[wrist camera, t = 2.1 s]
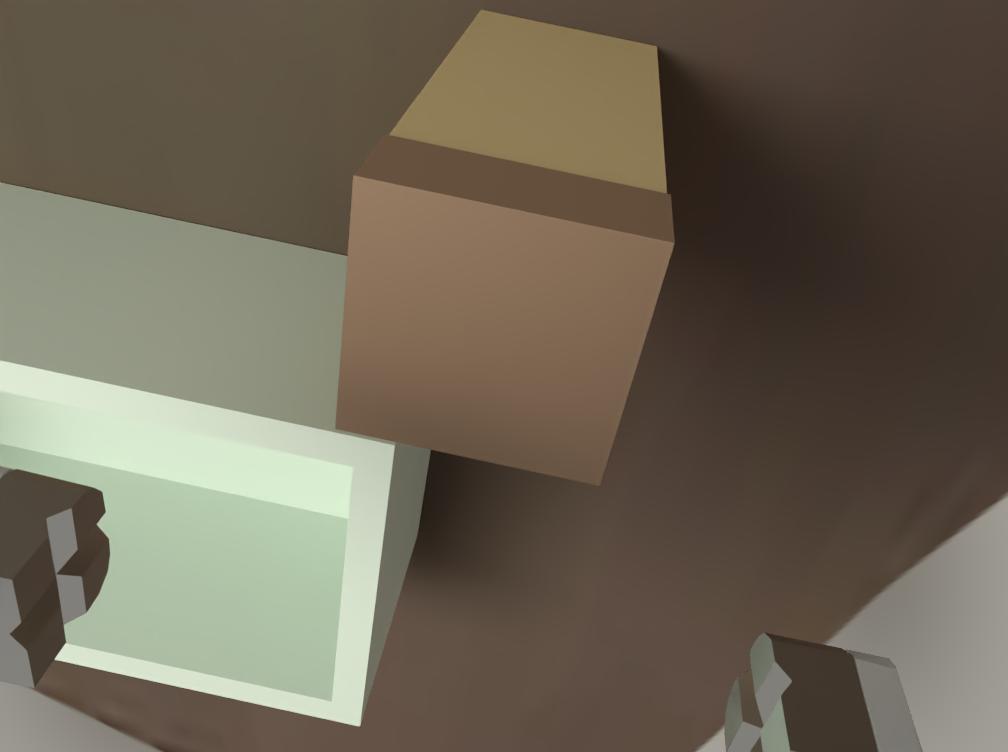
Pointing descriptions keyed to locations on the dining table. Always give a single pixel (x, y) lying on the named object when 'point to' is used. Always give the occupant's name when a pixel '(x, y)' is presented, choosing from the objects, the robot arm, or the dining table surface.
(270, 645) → the tote
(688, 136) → the dining table surface
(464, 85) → the oat carton
